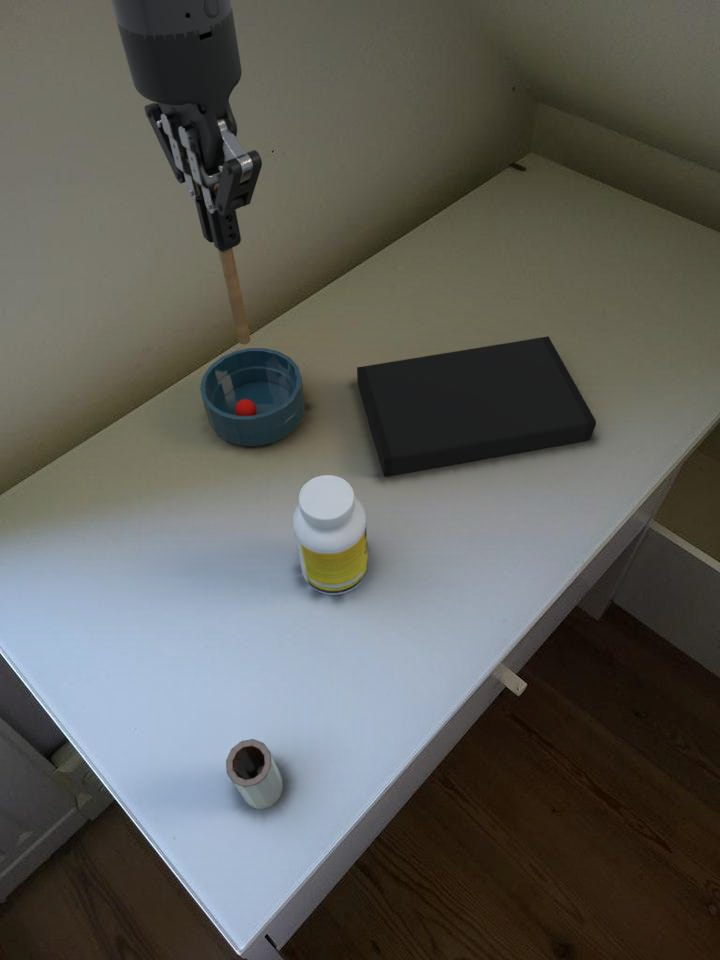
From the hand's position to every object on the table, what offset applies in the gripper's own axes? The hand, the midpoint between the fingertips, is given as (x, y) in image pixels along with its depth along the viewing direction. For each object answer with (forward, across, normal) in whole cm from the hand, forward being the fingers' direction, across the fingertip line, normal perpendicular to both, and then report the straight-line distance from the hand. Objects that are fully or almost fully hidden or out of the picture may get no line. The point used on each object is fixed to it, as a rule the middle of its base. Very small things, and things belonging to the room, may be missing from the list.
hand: (223, 241), depth 58 cm
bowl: (+24, -3, +1) cm, 24 cm away
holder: (+24, +31, -22) cm, 45 cm away
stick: (+11, 0, 0) cm, 11 cm away
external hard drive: (+24, +13, +20) cm, 34 cm away
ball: (+22, -2, 0) cm, 23 cm away
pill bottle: (+24, +19, -5) cm, 31 cm away
